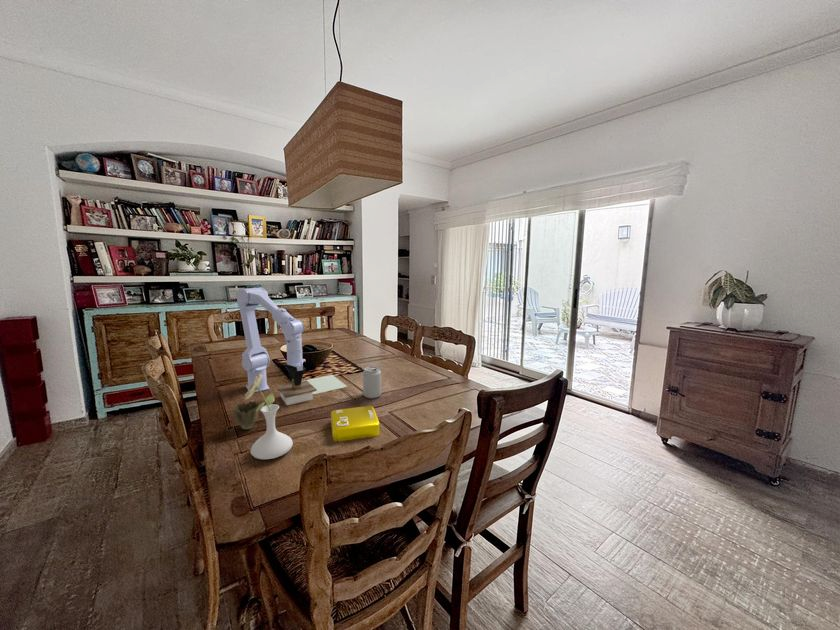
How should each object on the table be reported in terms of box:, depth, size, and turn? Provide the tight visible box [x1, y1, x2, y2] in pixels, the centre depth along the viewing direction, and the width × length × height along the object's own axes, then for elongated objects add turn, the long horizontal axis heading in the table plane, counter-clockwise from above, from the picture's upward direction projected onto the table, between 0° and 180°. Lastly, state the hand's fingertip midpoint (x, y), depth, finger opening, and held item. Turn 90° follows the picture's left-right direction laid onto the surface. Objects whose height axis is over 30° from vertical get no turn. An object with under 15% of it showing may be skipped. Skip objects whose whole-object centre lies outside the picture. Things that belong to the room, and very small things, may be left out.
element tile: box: [330, 405, 380, 443], centre depth 110 cm, size 15×15×5 cm
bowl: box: [280, 392, 314, 406], centre depth 132 cm, size 10×10×4 cm
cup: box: [232, 400, 260, 431], centre depth 108 cm, size 8×7×8 cm
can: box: [362, 366, 382, 399], centre depth 136 cm, size 8×8×12 cm
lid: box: [277, 379, 317, 398], centre depth 131 cm, size 12×12×4 cm
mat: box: [301, 374, 348, 395], centre depth 148 cm, size 18×16×1 cm
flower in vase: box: [244, 374, 294, 460], centre depth 93 cm, size 13×11×25 cm
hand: (296, 382), depth 131 cm, fingers open, 5 cm apart
